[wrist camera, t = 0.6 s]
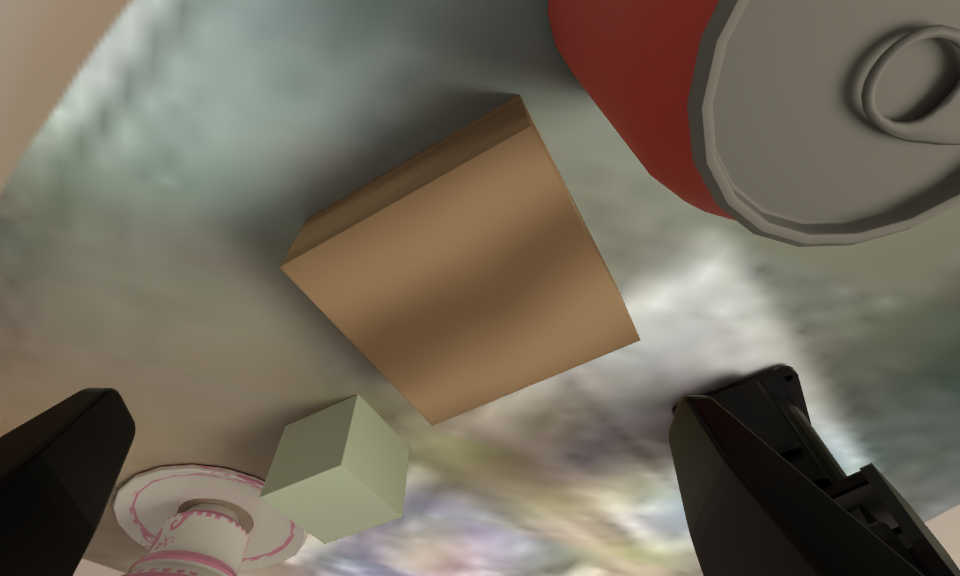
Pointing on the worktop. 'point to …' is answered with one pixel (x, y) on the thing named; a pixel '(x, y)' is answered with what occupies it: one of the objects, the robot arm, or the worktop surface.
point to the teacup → (202, 523)
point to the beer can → (781, 106)
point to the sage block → (338, 471)
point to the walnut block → (464, 270)
